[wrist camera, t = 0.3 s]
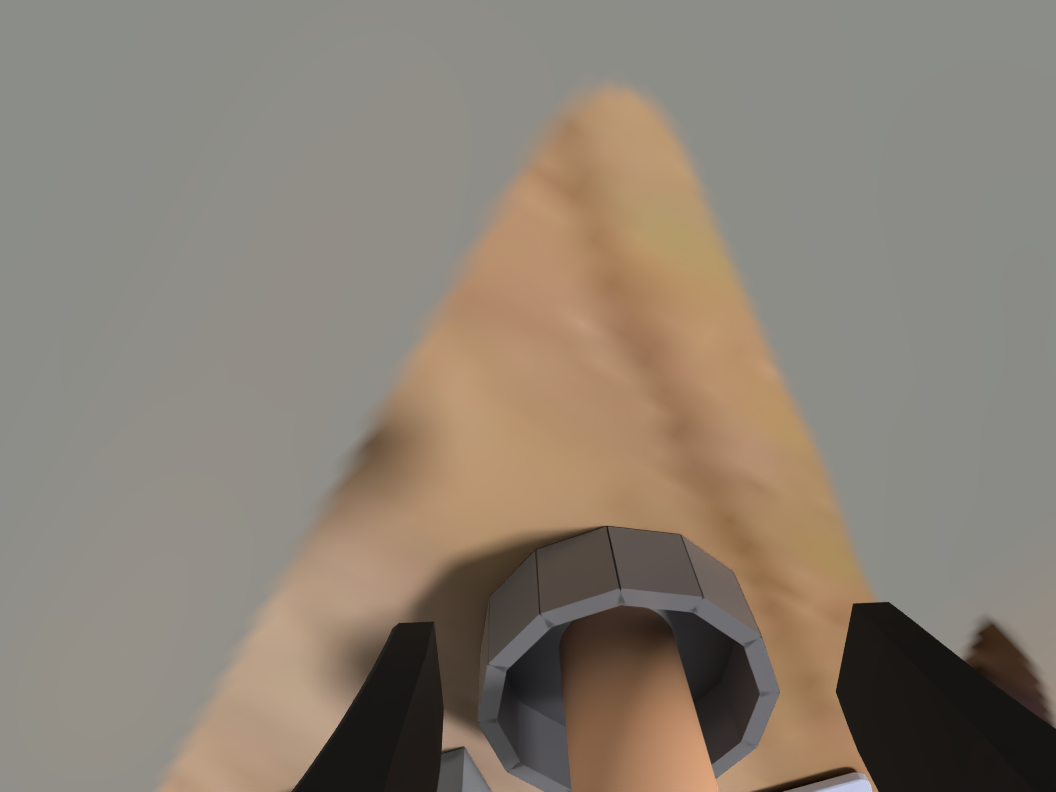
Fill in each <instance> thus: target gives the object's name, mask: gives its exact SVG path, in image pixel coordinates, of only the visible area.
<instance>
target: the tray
mask: <svg viewBox="0 0 1056 792" xmlns="http://www.w3.org/2000/svg"><path fill="white" fill-rule="evenodd" d="M437 792H492V791H491V789H490V788H489V786H488V785H487V783H486V781H485V780H484V778H483V776H482V775H481V773H480V772H479V770H478V768H477V767H476V765H475V763H474V762H473V760H472V758H471V757H470V755H469V754H468V752H467V750H466V749H465V747H464V748H461V749H458V750H454V751H451V752H448V753H444V754H441V766H440V775H439V781H438V788H437Z"/></svg>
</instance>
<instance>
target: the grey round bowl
mask: <svg viewBox="0 0 1056 792" xmlns="http://www.w3.org/2000/svg"><path fill="white" fill-rule="evenodd" d="M620 605H626V606H636V607H645V608H649V609H651V610H653V611H655V612H657V613H658V614H659V615H661V616H662V617H663V618H664V619H665V620H666V621H667V622H668V624H669V625H670V627H671V629H672V631H673V634H674V637H675V641H676V644H677V648H678V651H679V655H680V658H681V662H682V665H683V669H684V672H685V675H686V679H687V682H688V686H689V689H690V693H691V696H692V700H693V703H694V707H695V710H696V713H697V717H698V720H699V724H700V727H701V731H702V734H703V738H704V741H705V745H706V748H707V751H708V755H709V758H710V762H711V765H712V769H713V772H714V776H715V779H716V778H718V777H719V776H720V775H722V774H723V773H724V772H725V771H727V770H728V769H729V768H731V767H732V766H733V765H735V764H736V763H737V762H738V761H740V760H741V759H742V758H744V757H745V756H746V755H748V754H749V753H750V752H752V751H753V750H754V749H755V748H757V747H756V746H758V744H759V742H760V740H761V737H762V735H763V732H764V730H765V728H766V725H767V723H768V720H769V718H770V715H771V713H772V711H773V708H774V706H775V703H776V701H777V699H778V696H779V694H780V690H779V687H778V684H777V681H776V678H775V675H774V672H773V669H772V666H771V662H770V659H769V656H768V653H767V650H766V647H765V644H764V641H763V638H762V635H761V633H760V631H759V628H758V626H757V624H756V622H755V619H754V617H753V615H752V613H751V610H750V608H749V606H748V603H747V601H746V599H745V597H744V594H743V592H742V590H741V588H740V585H739V583H738V581H737V578H736V576H735V574H734V572H733V571H732V570H731V569H729V568H728V567H726V566H725V565H723V564H722V563H721V562H719V561H718V560H716V559H715V558H713V557H712V556H711V555H709V554H708V553H706V552H705V551H703V550H702V549H701V548H699V547H698V546H696V545H695V544H693V543H692V542H691V541H689V540H688V539H686V538H685V537H684V536H682V535H681V536H680V535H679V534H670V533H662V532H653V531H644V530H636V529H627V528H618V527H609V526H608V528H606V527H603V528H600V529H597V530H594V531H591V532H588V533H585V534H582V535H579V536H576V537H573V538H570V539H567V540H564V541H561V542H558V543H555V544H552V545H549V546H546V547H543V548H540V549H537V551H534V552H533V553H532V554H531V555H530V556H529V557H528V558H527V559H526V560H525V561H524V562H523V563H522V564H521V565H520V566H519V567H518V568H517V569H516V570H515V571H514V572H513V573H512V574H511V575H510V576H509V577H508V578H507V580H506V581H505V582H504V583H503V584H502V585H501V586H500V587H499V588H498V589H497V590H496V591H495V592H494V593H493V594H492V595H491V596H490V598H489V603H488V608H487V614H486V620H485V626H484V632H483V638H482V643H481V649H480V669H479V694H478V719H477V722H478V725H479V726H480V728H481V730H482V731H483V733H484V735H485V736H486V738H487V740H488V741H489V743H490V745H491V747H492V748H493V750H494V752H495V753H496V755H497V757H498V758H499V760H500V762H501V764H502V765H503V767H504V769H505V770H506V771H507V772H508V773H510V774H512V775H514V776H516V777H518V778H519V779H521V780H523V781H525V782H527V783H529V784H531V785H533V786H535V787H537V788H539V789H541V790H542V791H544V792H572V790H571V779H570V768H569V757H568V746H567V735H566V724H565V713H564V702H563V691H562V680H561V668H560V657H559V645H560V641H561V638H562V635H563V633H564V631H565V630H566V629H567V627H568V626H569V625H570V624H571V623H572V621H574V620H575V619H579V618H582V617H585V616H588V615H591V614H595V613H598V612H601V611H604V610H607V609H610V608H614V607H617V606H620Z"/></svg>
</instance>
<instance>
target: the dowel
mask: <svg viewBox="0 0 1056 792" xmlns="http://www.w3.org/2000/svg"><path fill="white" fill-rule="evenodd" d="M559 657H560V668H561V680H562V691H563V702H564V713H565V724H566V735H567V746H568V757H569V768H570V779H571V790H572V792H719V789H718V786H717V782H716V779H715V776H714V772H713V769H712V765H711V762H710V758H709V755H708V751H707V748H706V745H705V741H704V738H703V734H702V731H701V727H700V724H699V720H698V717H697V713H696V710H695V707H694V703H693V700H692V696H691V693H690V689H689V686H688V682H687V679H686V675H685V672H684V669H683V665H682V662H681V658H680V655H679V651H678V648H677V644H676V641H675V637H674V634H673V631H672V629H671V627H670V625H669V624H668V622H667V621H666V620H665V619H664V618H663V617H662V616H661V615H659V614H658V613H657V612H655V611H653V610H651V609H649V608H645V607H636V606H626V605H620V606H617V607H614V608H610V609H607V610H604V611H601V612H598V613H595V614H591V615H588V616H585V617H582V618H579V619H575V620H574V621H572V623H571V624H570V625H569V626H568V627H567V629H566V630H565V631H564V633H563V635H562V638H561V641H560V645H559Z"/></svg>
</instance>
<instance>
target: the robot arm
mask: <svg viewBox="0 0 1056 792" xmlns="http://www.w3.org/2000/svg"><path fill="white" fill-rule="evenodd" d="M836 694H837V696H838V699H839V702H840V705H841V708H842V710H843V713H844V716H845V719H846V721H847V724H848V727H849V729H850V732H851V734H852V737H853V740H854V742H855V745H856V747H857V750H858V752H859V754H860V756H861V758H862V760H863V762H864V764H865V766H866V768H867V770H868V772H869V774H870V776H871V778H872V780H873V782H874V784H875V785H876V787H877V789H878V791H879V792H1056V729H1055V728H1054V727H1052V726H1051V725H1049V724H1048V723H1047V722H1045V721H1044V720H1042V719H1041V718H1039V717H1038V716H1037V715H1035V714H1034V713H1032V712H1031V711H1030V710H1028V709H1027V708H1025V707H1024V706H1023V705H1021V704H1020V703H1019V702H1017V701H1016V700H1015V699H1013V698H1012V697H1010V696H1009V695H1008V694H1006V693H1005V692H1004V691H1002V690H1001V689H1000V688H998V687H997V686H996V685H995V684H993V683H992V682H991V681H989V680H988V679H987V678H985V677H984V676H983V675H981V674H980V673H979V672H978V671H976V670H975V669H974V668H972V667H971V666H970V665H969V664H967V663H966V662H965V661H963V660H962V659H961V658H960V657H958V656H957V655H956V654H955V653H953V652H952V651H951V650H949V649H948V648H947V647H946V646H944V645H943V644H942V643H940V642H939V641H938V640H937V639H935V638H934V637H933V636H932V635H931V634H929V633H928V632H927V631H925V630H924V629H923V628H921V627H920V626H919V625H918V624H916V623H915V622H914V621H913V620H912V619H910V618H909V617H907V616H906V615H905V614H904V613H903V612H901V611H900V610H898V609H897V608H896V607H895V606H893V605H892V604H891V603H889V602H878V603H855V604H853V607H852V612H851V617H850V622H849V627H848V632H847V637H846V643H845V648H844V653H843V658H842V663H841V668H840V673H839V678H838V683H837V688H836ZM443 713H444V707H443V698H442V689H441V680H440V671H439V663H438V654H437V645H436V636H435V627H434V622H417V623H398V624H397V625H396V626H395V627H394V628H393V629H392V631H391V633H390V635H389V637H388V640H387V642H386V644H385V646H384V648H383V650H382V652H381V653H380V655H379V657H378V659H377V661H376V663H375V665H374V667H373V668H372V670H371V672H370V674H369V675H368V677H367V679H366V681H365V683H364V684H363V686H362V688H361V689H360V691H359V693H358V694H357V696H356V698H355V699H354V701H353V702H352V704H351V706H350V707H349V709H348V711H347V712H346V714H345V715H344V717H343V719H342V720H341V722H340V724H339V725H338V727H337V728H336V730H335V731H334V733H333V734H332V736H331V737H330V739H329V740H328V741H327V743H326V744H325V746H324V747H323V749H322V750H321V751H320V753H319V754H318V756H317V757H316V759H315V760H314V762H313V763H312V764H311V766H310V767H309V769H308V770H307V772H306V773H305V774H304V776H303V777H302V778H301V780H300V781H299V782H298V784H297V785H296V786H295V788H294V789H293V790H292V792H437V788H438V781H439V775H440V766H441V750H442V732H443ZM783 792H872V788H871V785H870V783H869V781H868V779H867V777H866V775H864V774H863V773H858V772H855V773H850V774H846V775H842V776H839V777H835V778H831V779H828V780H824V781H820V782H817V783H813V784H809V785H806V786H802V787H798V788H794V789H791V790H787V791H783Z"/></svg>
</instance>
